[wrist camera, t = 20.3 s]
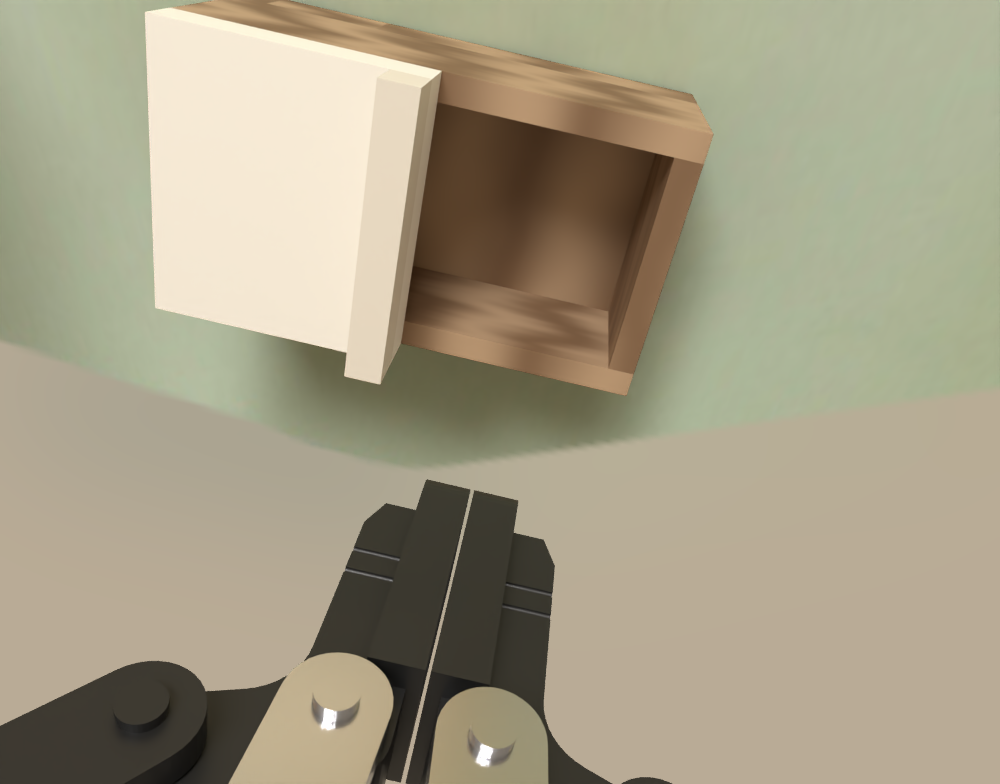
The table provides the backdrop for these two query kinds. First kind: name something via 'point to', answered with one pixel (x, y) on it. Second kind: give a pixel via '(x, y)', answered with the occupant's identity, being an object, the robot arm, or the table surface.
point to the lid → (286, 183)
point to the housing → (530, 198)
